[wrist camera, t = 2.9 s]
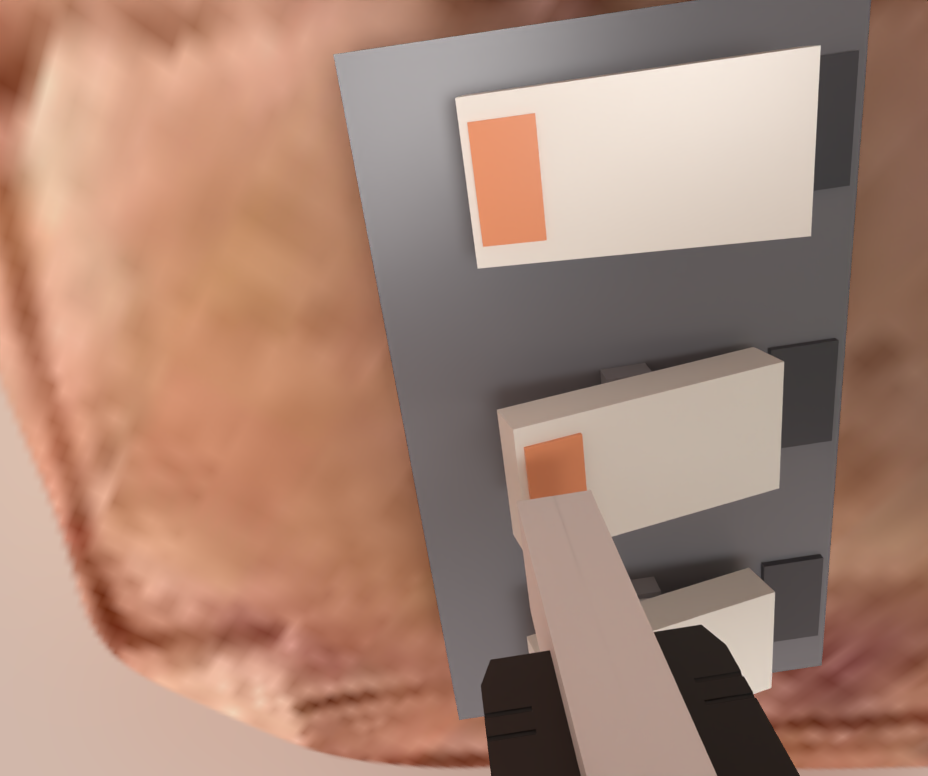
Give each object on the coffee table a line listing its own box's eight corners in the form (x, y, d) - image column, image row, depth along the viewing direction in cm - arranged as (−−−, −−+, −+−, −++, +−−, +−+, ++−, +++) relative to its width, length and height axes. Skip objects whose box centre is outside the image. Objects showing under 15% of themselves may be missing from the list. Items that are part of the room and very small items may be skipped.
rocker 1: (800, 46, 15) (822, 45, 14) (793, 222, 16) (811, 236, 15) (465, 94, 16) (454, 97, 15) (485, 253, 18) (476, 269, 16)
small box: (744, 563, 22) (777, 593, 20) (743, 656, 23) (773, 690, 22) (524, 631, 20) (543, 669, 19) (536, 725, 22) (555, 766, 20)
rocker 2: (748, 344, 19) (786, 362, 18) (746, 464, 20) (781, 489, 19) (494, 406, 18) (514, 431, 16) (510, 530, 19) (530, 563, 18)
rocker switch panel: (787, -6, 20) (892, -31, 15) (767, 587, 28) (832, 681, 23) (348, 59, 20) (329, 53, 15) (453, 634, 28) (460, 737, 23)
